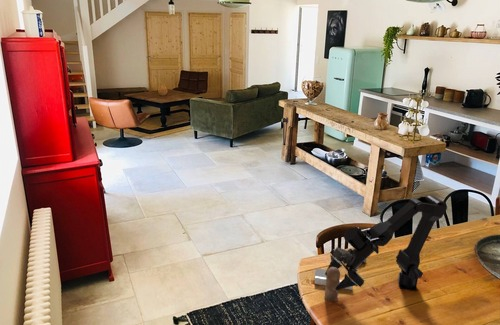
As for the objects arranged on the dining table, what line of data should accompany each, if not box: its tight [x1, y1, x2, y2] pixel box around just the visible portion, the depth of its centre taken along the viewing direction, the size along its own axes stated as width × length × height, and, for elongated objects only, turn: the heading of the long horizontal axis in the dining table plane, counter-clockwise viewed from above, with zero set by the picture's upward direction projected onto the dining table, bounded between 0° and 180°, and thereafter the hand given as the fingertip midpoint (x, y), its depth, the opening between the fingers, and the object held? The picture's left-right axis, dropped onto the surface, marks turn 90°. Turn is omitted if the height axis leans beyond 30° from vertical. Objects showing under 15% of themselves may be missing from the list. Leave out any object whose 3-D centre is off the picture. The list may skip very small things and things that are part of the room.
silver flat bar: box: [314, 275, 354, 291], centre depth 163 cm, size 15×1×3 cm, turn 76°
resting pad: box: [313, 268, 327, 280], centre depth 170 cm, size 7×7×1 cm
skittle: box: [324, 267, 341, 302], centre depth 154 cm, size 5×5×14 cm
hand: (330, 282), depth 154 cm, fingers open, 9 cm apart
